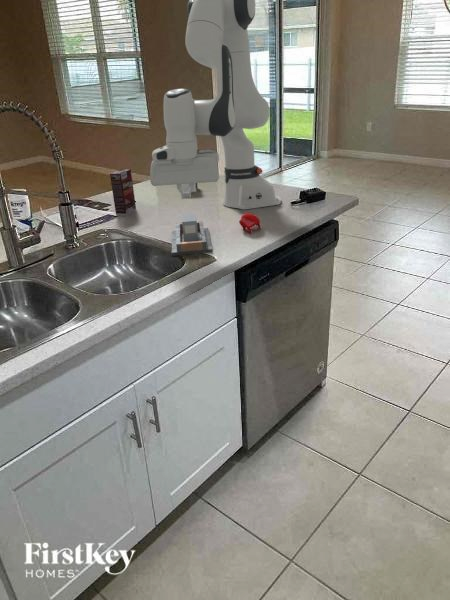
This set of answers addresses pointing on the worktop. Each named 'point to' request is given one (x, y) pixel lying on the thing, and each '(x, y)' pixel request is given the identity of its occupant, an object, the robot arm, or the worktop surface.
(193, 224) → the block
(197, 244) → the grey tray
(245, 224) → the red toy chair
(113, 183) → the supplement box
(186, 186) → the medicine bottle
